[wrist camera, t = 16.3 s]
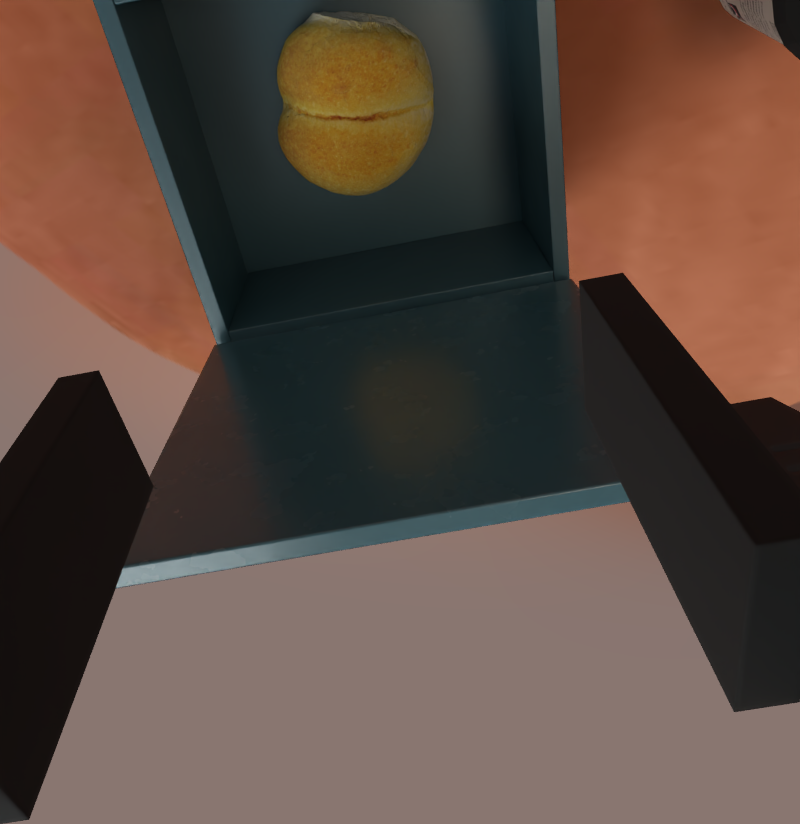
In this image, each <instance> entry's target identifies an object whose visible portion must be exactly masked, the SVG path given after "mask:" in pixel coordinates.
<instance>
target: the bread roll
mask: <svg viewBox="0 0 800 824" xmlns="http://www.w3.org/2000/svg"><path fill="white" fill-rule="evenodd" d="M277 82H278V87H279V91H280V94H281V96H282V98H283V111H282V114H281V116H280V120H279V125H278V139H279V143H280V146H281V149H282V151H283V153H284V154H285V156H286V158H287V159H288V161H289V162H290V163H291V164H292V165H293V167H294V168H295V169H296V170H297V171H298V172H299V173H300V174H301V175H302V176H303V177H305V178H306V179H307V180H308V181H309V182H311V183H313V184H315V185H317V186H319V187H321V188H324V189H326V190H328V191H330V192H333V193H338V194H342V195H352V196H361V195H368V194H371V193H374V192H377V191H379V190H381V189H383V188H385V187H387V186H389V185H390V184H392V183H393V182H395V181H396V180H398V179H399V178H400V177H401V176H402V175H403V174H405V173H406V172H407V171H408V170H409V169H410V167H411V166H412V165H413V164H414V162H415V161H416V159H417V158H418V156H419V154H420V153H421V151H422V149H423V148H424V146H425V144H426V143H427V140H428V137H429V134H430V131H431V126H432V121H433V115H434V105H433V94H434V88H433V77H432V72H431V67H430V63H429V60H428V57H427V54H426V52H425V49H424V47H423V45H422V43H421V42H420V40H419V39H418V37H417V36H416V35H415V34H414V33H413V32H411V31H410V30H409V29H407V28H406V27H405V26H404V25H402V24H401V23H399V22H398V21H397V20H396V19H394V18H392V17H386V16H380V15H374V14H368V13H360V12H359V13H358V12H355V13H352V12H348V11H346V12H344V11H340V12H336V13H334V12H326V11H322V12H317V13H316V12H314V13H312V14H311V16H310V17H309V18H308V19H307V20H306V21H305V23H303V24H302V25H300V26H299V27H298V28H296V29H295V30H294V31H293V32H292V33H291V34H290V35H289V36H288V38H287V39H286V41H285V43H284V46H283V48H282V51H281V55H280V58H279V61H278V66H277Z"/></svg>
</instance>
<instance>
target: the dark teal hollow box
mask: <svg viewBox="0 0 800 824" xmlns="http://www.w3.org/2000/svg"><path fill="white" fill-rule="evenodd" d="M93 2H94V5H95V7H96V10H97V13H98V16H99V18H100V21H101V24H102V27H103V30H104V32H105V35H106V38H107V41H108V43H109V46H110V49H111V52H112V55H113V57H114V60H115V63H116V66H117V68H118V71H119V74H120V77H121V79H122V82H123V85H124V88H125V91H126V93H127V96H128V99H129V102H130V104H131V107H132V110H133V113H134V116H135V118H136V121H137V124H138V127H139V129H140V132H141V135H142V138H143V140H144V143H145V146H146V149H147V152H148V154H149V157H150V160H151V163H152V165H153V168H154V171H155V174H156V177H157V179H158V182H159V185H160V188H161V190H162V193H163V196H164V199H165V201H166V204H167V207H168V210H169V213H170V215H171V218H172V221H173V224H174V226H175V229H176V232H177V235H178V237H179V240H180V243H181V246H182V249H183V251H184V254H185V257H186V260H187V262H188V265H189V268H190V271H191V274H192V276H193V279H194V282H195V285H196V287H197V290H198V293H199V296H200V298H201V301H202V304H203V307H204V310H205V312H206V315H207V318H208V321H209V323H210V326H211V329H212V332H213V335H214V337H215V340H216V343H217V345H218V344H224V343H229V342H234V341H240V340H245V339H250V338H256V337H261V336H267V335H272V334H277V333H283V332H288V331H293V330H299V329H304V328H309V327H315V326H320V325H326V324H331V323H336V322H342V321H347V320H352V319H358V318H363V317H369V316H374V315H379V314H385V313H390V312H395V311H401V310H406V309H411V308H417V307H422V306H428V305H433V304H438V303H444V302H449V301H454V300H460V299H465V298H470V297H476V296H481V295H487V294H492V293H497V292H503V291H508V290H513V289H519V288H524V287H529V286H535V285H540V284H546V283H551V282H556V281H562V280H567V279H569V259H568V240H567V221H566V202H565V182H564V163H563V144H562V125H561V105H560V86H559V67H558V48H557V28H556V9H555V0H93ZM322 11H326V12H334V13H336V12H340V11H344V12H346V11H348V12H352V13H355V12H358V13H359V12H360V13H368V14H374V15H380V16H386V17H392V18H394V19H396V20H397V21H398V22H399V23H401V24H402V25H404V26H405V27H406V28H407V29H409V30H410V31H411V32H413V33H414V34H415V35H416V36H417V37H418V39H419V40H420V42H421V43H422V45H423V47H424V49H425V52H426V54H427V57H428V60H429V63H430V67H431V72H432V77H433V88H434V94H433V105H434V115H433V121H432V126H431V131H430V134H429V137H428V140H427V143H426V144H425V146H424V148H423V149H422V151H421V153H420V154H419V156H418V158H417V159H416V161H415V162H414V164H413V165H412V166H411V167H410V169H409V170H408V171H407V172H406V173H405V174H403V175H402V176H401V177H400V178H399V179H398V180H396V181H395V182H393V183H392V184H390V185H389V186H387V187H385V188H383V189H381V190H379V191H377V192H374V193H371V194H368V195H361V196H352V195H342V194H338V193H333V192H330V191H328V190H326V189H324V188H321V187H319V186H317V185H315V184H313V183H311V182H309V181H308V180H307V179H306V178H305V177H303V176H302V175H301V174H300V173H299V172H298V171H297V170H296V169H295V168H294V167H293V165H292V164H291V163H290V162H289V161H288V159H287V158H286V156H285V154H284V153H283V151H282V149H281V146H280V143H279V139H278V125H279V120H280V116H281V114H282V111H283V98H282V96H281V94H280V91H279V87H278V82H277V66H278V61H279V58H280V55H281V51H282V48H283V46H284V43H285V41H286V39H287V38H288V36H289V35H290V34H291V33H292V32H293V31H294V30H295V29H296V28H298V27H299V26H300V25H302V24H303V23H305V21H306V20H307V19H308V18H309V17H310V16H311V14H312V13H314V12H316V13H317V12H322Z"/></svg>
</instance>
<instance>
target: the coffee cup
mask: <svg viewBox="0 0 800 824" xmlns="http://www.w3.org/2000/svg"><path fill="white" fill-rule="evenodd" d="M720 2H721V4H722V6H723V8H724V9H725V10H726V11H727V12H728V13H729V14H731V15H732V16H733V17H734V18H736V19H738V20H740V21H742V22H744V23H745V24H747V25H749V26H751V27H753V28H754V29H756V30H758V31H760V32H762V33H763V34H765V35H767V36H769V37H771V38H773V39H774V40H776V41H778V42H780V43H782V44H783V45H784V46H785V47H786V48H787V49H788V50H789V51H790V52H792V53H793V54H794V55H795V56H796V57H797V58H798V59H799V60H800V0H720Z"/></svg>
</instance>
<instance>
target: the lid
mask: <svg viewBox="0 0 800 824" xmlns="http://www.w3.org/2000/svg"><path fill="white" fill-rule="evenodd" d="M150 479H151V482H152V484H153V486H154V487H153V489H152V492H151V495H150V497H149V500H148V503H147V505H146V508H145V511H144V514H143V516H142V519H141V522H140V524H139V527H138V530H137V532H136V535H135V538H134V540H133V543H132V546H131V548H130V551H129V554H128V556H127V559H126V562H125V564H124V567H123V570H122V572H121V575H120V578H119V580H118V583H117V586H116V588H121V587H127V586H133V585H139V584H145V583H151V582H157V581H162V580H169V579H174V578H181V577H186V576H192V575H198V574H204V573H210V572H216V571H222V570H228V569H233V568H239V567H245V566H252V565H257V564H263V563H269V562H275V561H281V560H287V559H293V558H298V557H305V556H310V555H317V554H322V553H328V552H334V551H340V550H346V549H352V548H358V547H364V546H369V545H376V544H381V543H388V542H393V541H399V540H405V539H411V538H417V537H422V536H429V535H434V534H441V533H447V532H452V531H459V530H464V529H470V528H476V527H482V526H488V525H494V524H500V523H506V522H511V521H518V520H524V519H529V518H535V517H541V516H547V515H553V514H559V513H565V512H571V511H576V510H583V509H588V508H594V507H600V506H606V505H612V504H618V503H624V502H630V500H629V498H628V496H627V494H626V492H625V490H624V488H623V486H622V484H621V482H620V480H619V478H618V476H617V474H616V472H615V470H614V468H613V466H612V464H611V462H610V460H609V458H608V456H607V454H606V452H605V450H604V448H603V446H602V444H601V442H600V440H599V438H598V436H597V434H596V432H595V430H594V428H593V426H592V423H591V421H590V419H589V417H588V415H587V413H586V411H585V401H584V379H583V356H582V333H581V311H580V289H579V288H578V287H577V285H576V284H575V283H574V282H573V280H572V279H567V280H562V281H556V282H551V283H546V284H540V285H535V286H529V287H524V288H519V289H513V290H508V291H503V292H497V293H492V294H487V295H481V296H476V297H470V298H465V299H460V300H454V301H449V302H444V303H438V304H433V305H428V306H422V307H417V308H411V309H406V310H401V311H395V312H390V313H385V314H379V315H374V316H369V317H363V318H358V319H352V320H347V321H342V322H336V323H331V324H326V325H320V326H315V327H309V328H304V329H299V330H293V331H288V332H283V333H277V334H272V335H267V336H261V337H256V338H250V339H245V340H240V341H234V342H229V343H224V344H218V345H215V346H214V348H213V350H212V352H211V354H210V356H209V358H208V360H207V362H206V364H205V366H204V368H203V370H202V372H201V374H200V376H199V378H198V380H197V382H196V384H195V386H194V388H193V390H192V392H191V394H190V396H189V398H188V400H187V402H186V404H185V406H184V408H183V410H182V412H181V415H180V416H179V418H178V421H177V423H176V425H175V427H174V429H173V431H172V433H171V435H170V437H169V439H168V441H167V443H166V445H165V447H164V449H163V451H162V453H161V455H160V457H159V459H158V461H157V463H156V465H155V467H154V469H153V471H152V473H151V475H150ZM116 588H115V589H116Z"/></svg>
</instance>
